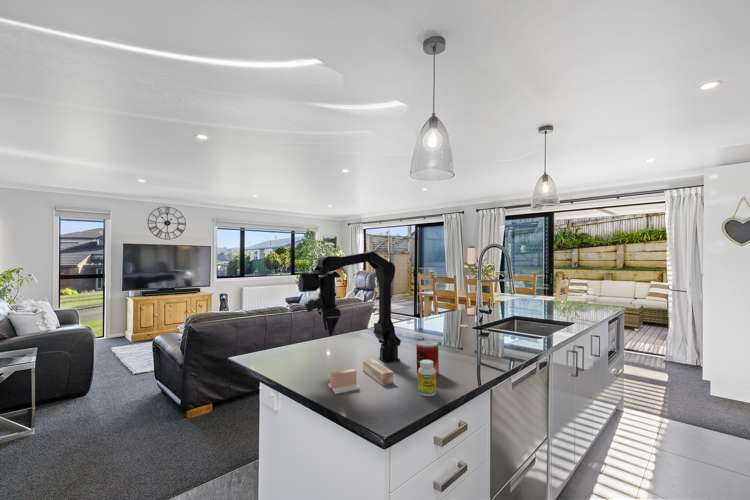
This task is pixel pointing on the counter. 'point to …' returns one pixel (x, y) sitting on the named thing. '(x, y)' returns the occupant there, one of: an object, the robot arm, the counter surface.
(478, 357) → the counter surface
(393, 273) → the robot arm
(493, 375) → the counter surface
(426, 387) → the supplement bottle
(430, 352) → the canned food
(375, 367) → the beam
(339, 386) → the fulcrum
